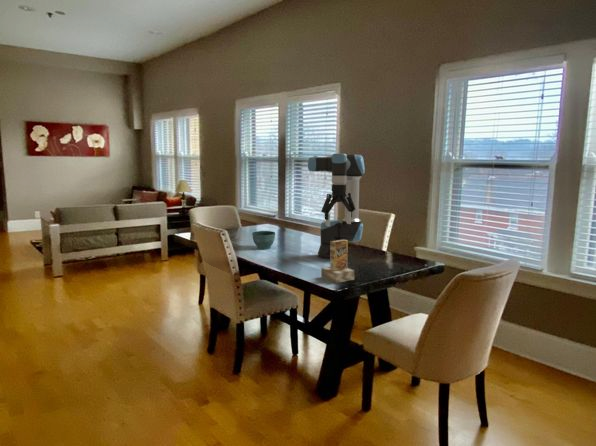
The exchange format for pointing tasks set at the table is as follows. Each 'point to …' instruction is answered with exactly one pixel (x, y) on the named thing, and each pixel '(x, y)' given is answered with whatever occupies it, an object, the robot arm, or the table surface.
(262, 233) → the flower pot
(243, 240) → the table surface
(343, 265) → the candy box
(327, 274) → the birch stand
